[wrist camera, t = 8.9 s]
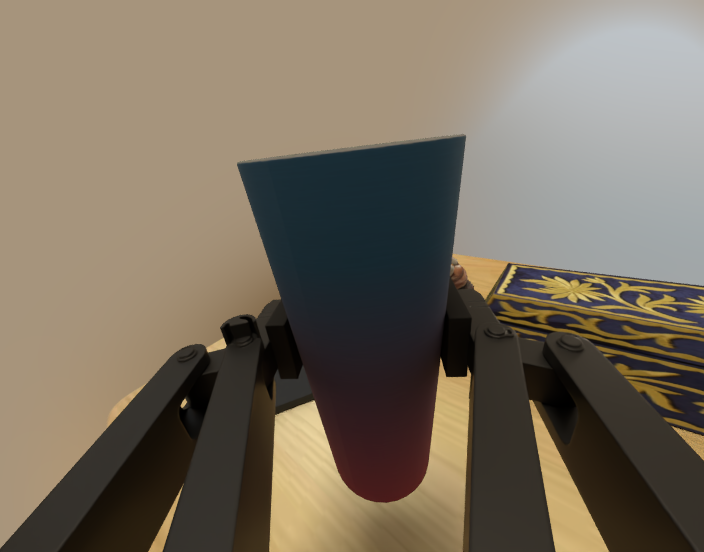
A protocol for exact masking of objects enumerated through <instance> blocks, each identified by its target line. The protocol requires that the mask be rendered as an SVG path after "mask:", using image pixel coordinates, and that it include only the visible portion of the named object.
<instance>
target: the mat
mask: <svg viewBox="0 0 704 552" xmlns="http://www.w3.org/2000/svg"><path fill="white" fill-rule="evenodd" d="M274 380H275V383H276V403H275V414H277V413H279V412H282V411H285V410H287V409H290V408H292V407H295V406H298V405H300V404H303V403H305V402H308V401H311V400H313V399H314V396H313V393H312V390H311V387H310V384H309V381H308V378H307V375H306V372H305V369H304V366H302V369H301V372H300V375H299V377H298V379H280V375H279V372H278V369H277V372H276V374H275V376H274Z"/></svg>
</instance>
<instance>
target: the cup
mask: <svg viewBox="0 0 704 552" xmlns="http://www.w3.org/2000/svg"><path fill="white" fill-rule="evenodd" d="M465 140H466V135H464V134H461V135H452V136H442V137H434V138H425V139H416V140H408V141H400V142H391V143H382V144H375V145H366V146H358V147H350V148H342V149H333V150H325V151H317V152H309V153H302V154H294V155H287V156H279V157H271V158H264V159H255V160H248V161H242V162H238V163H237V166H238V169H239V172H240V175H241V178H242V181H243V184H244V187H245V190H246V193H247V196H248V199H249V202H250V205H251V208H252V211H253V214H254V217H255V220H256V223H257V226H258V229H259V232H260V236H261V239H262V242H263V244H264V248H265V250H266V254H267V257H268V260H269V263H270V266H271V269H272V272H273V275H274V278H275V281H276V284H277V287H278V290H279V293H280V296H281V299H282V302H283V305H284V308H285V311H286V314H287V317H288V320H289V324H290V327H291V330H292V333H293V336H294V339H295V342H296V345H297V348H298V351H299V354H300V357H301V360H302V363H303V366H304V369H305V372H306V375H307V378H308V381H309V384H310V387H311V390H312V393H313V396H314V399H315V402H316V405H317V408H318V411H319V415H320V418H321V421H322V424H323V427H324V430H325V433H326V436H327V439H328V442H329V445H330V448H331V451H332V454H333V457H334V460H335V463H336V466H337V469H338V472H339V474H340V476H341V478H342V480H343V481H344V483H345V484H346V485H347V486H348V488H349V489H351V490H352V491H353V492H354V493H355V494H357V495H358V496H360V497H362V498H364V499H366V500H370V501H374V502H384V503H387V502H392V501H397V500H400V499H402V498H404V497H406V496H408V495H409V494H410V493H412V492H413V491H414V490H415V489H416V488H417V487H418V486H419V484H420V483H421V482H422V480H423V478H424V476H425V474H426V471H427V467H428V462H429V453H430V444H431V436H432V427H433V418H434V410H435V401H436V392H437V383H438V375H439V366H440V357H441V349H442V340H443V331H444V323H445V314H446V305H447V297H448V288H449V279H450V271H451V262H452V253H453V245H454V235H455V227H456V219H457V210H458V200H459V192H460V183H461V175H462V166H463V158H464V149H465Z"/></svg>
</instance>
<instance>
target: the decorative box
mask: <svg viewBox="0 0 704 552" xmlns="http://www.w3.org/2000/svg"><path fill="white" fill-rule="evenodd" d="M485 302H486V303H487V304H488V306H489V307H490V309H491V310H492V312H493V313H494V315H495V316H496V318H497V319H498V321H499V322H500V323H501V324H504V325H507V326H509V327H511V328H512V329H513V330H514V331H515V332H516V333H517V335H518V337H520V338H524V339H529V340H535V341H541V342H545V339H546V336H547V335H548V334H550V333H552V332H569V333H572V334H576V335H579V336H581V337H583V338H585V339H587V340H589V341H590V342H591V343H593V344H594V345H595V346H596V347H597V348H598V349H599V350H600V351H601V353H602V354H603V355H604V356H605V357H606V358H607V359H608V360H609V361H610V362H611V363H612V364H613V365H614V366H615V367H616V368H617V369H618V371H619V372H620V373H621V374H622V375H623V376H624V377H625V378H626V379H627V380H628V381H629V382H630V383H631V384H632V385H633V386H634V388H635V389H636V390H637V391H638V392H639V393H640V394H641V395H642V396H643V397H644V398H645V399H646V400H647V401H648V402H649V403H650V404H651V406H652V407H653V408H654V409H655V410H656V411H657V412H658V413H659V414H660V415H661V416H662V417H663V418H664V419H665V420H666V421H667V422H668V424H669V425H672V426H676V427H679V428H682V429H685V430H688V431H691V432H695V433H698V434H701V435H704V286H699V285H690V284H681V283H673V282H664V281H656V280H647V279H639V278H630V277H621V276H613V275H605V274H596V273H587V272H578V271H570V270H562V269H553V268H545V267H536V266H527V265H519V264H510V263H508V265H507V266H506V268H505V269H504V271H503V273H502V274H501V276H500V277H499V279H498V280H497V282H496V284H495V285H494V287H493V288H492V290H491V291H490V293H489V295H488V296H487V298H486V299H485Z"/></svg>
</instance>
